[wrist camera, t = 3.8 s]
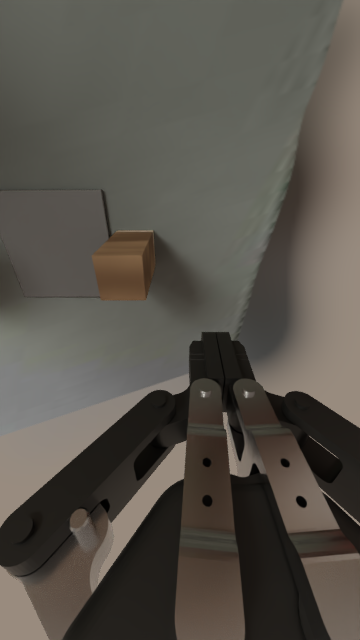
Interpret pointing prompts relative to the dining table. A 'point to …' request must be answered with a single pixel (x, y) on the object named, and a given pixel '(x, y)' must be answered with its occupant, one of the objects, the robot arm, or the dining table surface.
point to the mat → (53, 239)
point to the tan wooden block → (125, 265)
